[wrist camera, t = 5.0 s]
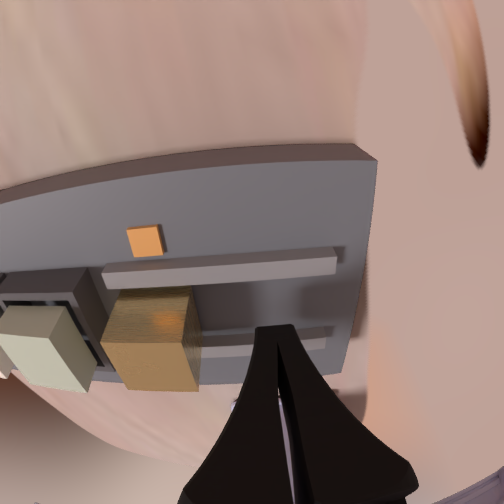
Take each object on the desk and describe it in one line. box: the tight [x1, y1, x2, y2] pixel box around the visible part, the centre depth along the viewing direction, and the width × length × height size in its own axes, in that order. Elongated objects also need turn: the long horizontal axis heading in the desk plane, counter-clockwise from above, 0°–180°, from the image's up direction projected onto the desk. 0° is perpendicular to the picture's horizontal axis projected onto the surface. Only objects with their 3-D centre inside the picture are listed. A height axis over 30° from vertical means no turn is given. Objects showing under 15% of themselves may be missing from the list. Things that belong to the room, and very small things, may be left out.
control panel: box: [0, 144, 377, 385], centre depth 13 cm, size 12×23×4 cm, turn 93°
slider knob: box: [100, 285, 203, 392], centre depth 12 cm, size 3×3×3 cm
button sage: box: [0, 305, 97, 393], centre depth 11 cm, size 4×4×2 cm
